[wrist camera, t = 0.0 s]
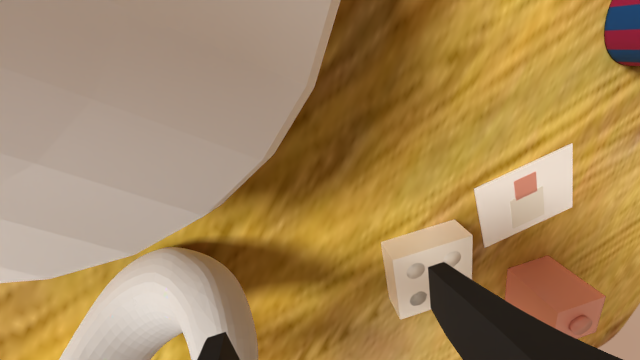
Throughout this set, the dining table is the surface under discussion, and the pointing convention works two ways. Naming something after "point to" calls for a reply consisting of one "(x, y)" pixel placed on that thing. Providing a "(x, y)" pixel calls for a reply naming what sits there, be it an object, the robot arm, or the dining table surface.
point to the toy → (165, 309)
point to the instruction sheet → (525, 196)
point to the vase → (139, 117)
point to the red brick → (554, 296)
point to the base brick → (423, 263)
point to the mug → (623, 31)
